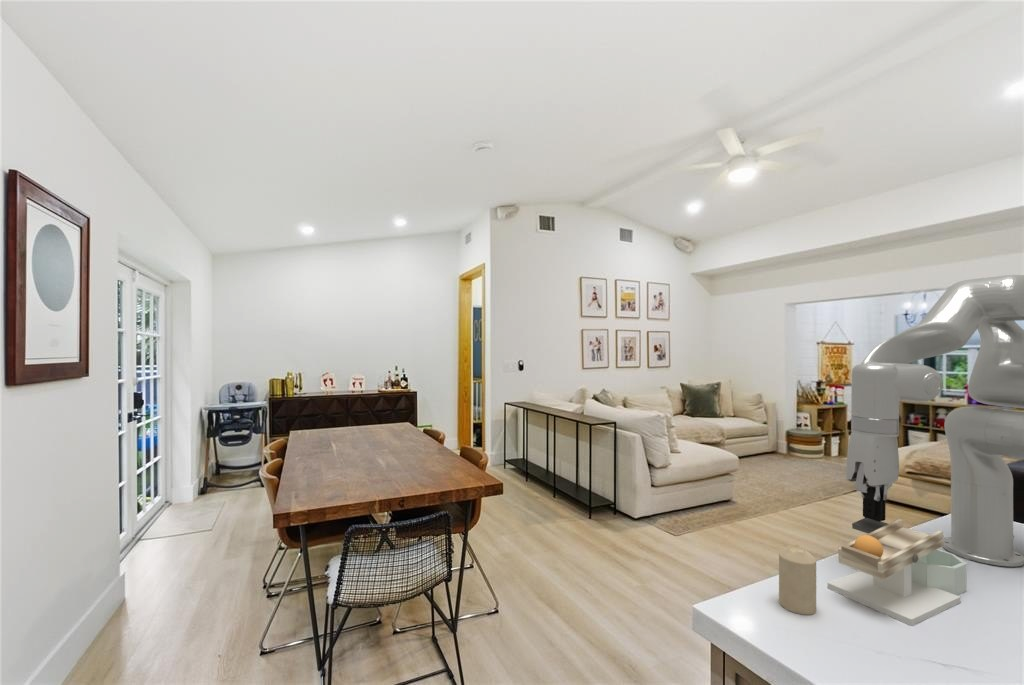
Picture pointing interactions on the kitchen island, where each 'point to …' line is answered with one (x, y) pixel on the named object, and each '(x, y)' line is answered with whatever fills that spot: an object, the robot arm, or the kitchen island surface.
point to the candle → (797, 580)
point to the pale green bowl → (941, 572)
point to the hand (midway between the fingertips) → (873, 518)
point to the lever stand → (895, 595)
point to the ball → (869, 545)
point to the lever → (889, 547)
